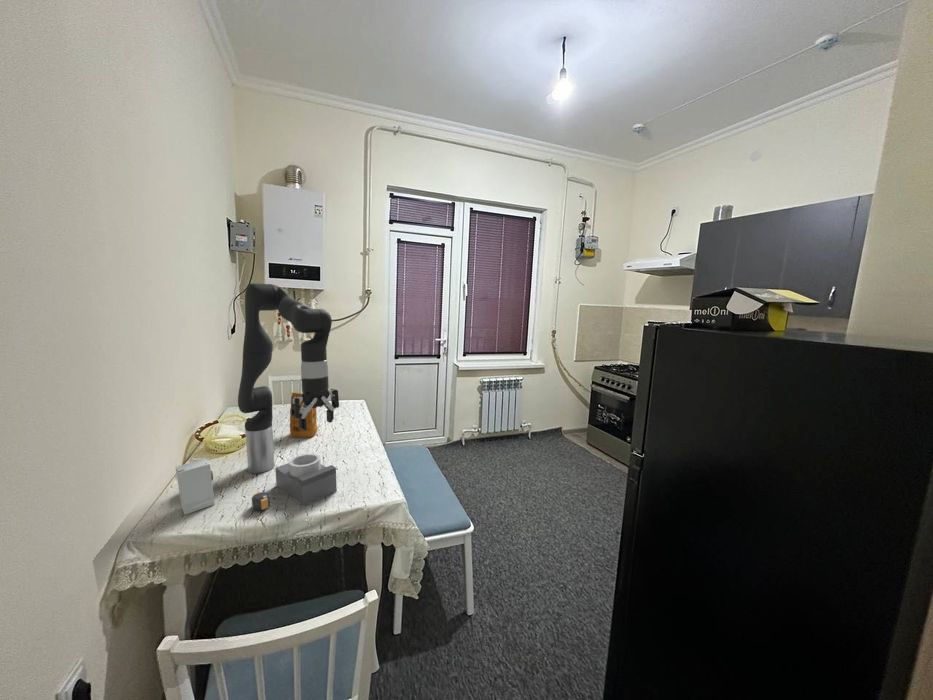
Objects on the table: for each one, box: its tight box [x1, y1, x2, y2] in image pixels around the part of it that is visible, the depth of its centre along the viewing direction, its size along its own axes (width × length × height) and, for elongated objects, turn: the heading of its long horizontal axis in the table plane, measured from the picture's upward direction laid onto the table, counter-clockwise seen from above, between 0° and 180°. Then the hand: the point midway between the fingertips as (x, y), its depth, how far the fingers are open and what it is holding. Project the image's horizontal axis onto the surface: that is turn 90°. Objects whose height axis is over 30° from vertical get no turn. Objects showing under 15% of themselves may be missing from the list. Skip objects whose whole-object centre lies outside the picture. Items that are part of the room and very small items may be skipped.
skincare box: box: [175, 457, 216, 516], centre depth 111 cm, size 8×6×15 cm
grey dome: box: [251, 491, 271, 513], centre depth 112 cm, size 6×5×4 cm
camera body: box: [275, 453, 337, 507], centre depth 123 cm, size 20×12×11 cm, turn 52°
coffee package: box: [289, 391, 318, 439], centre depth 171 cm, size 10×12×22 cm
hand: (317, 425), depth 107 cm, fingers open, 8 cm apart
